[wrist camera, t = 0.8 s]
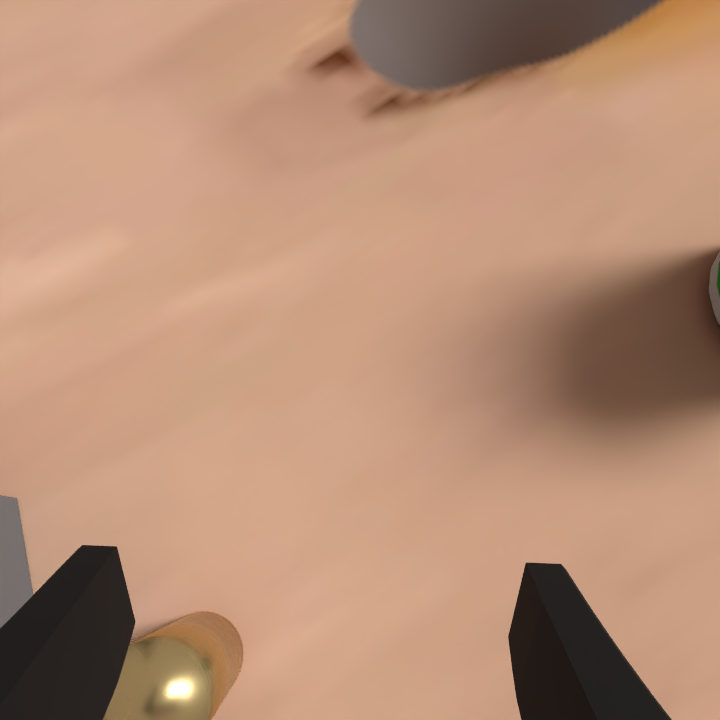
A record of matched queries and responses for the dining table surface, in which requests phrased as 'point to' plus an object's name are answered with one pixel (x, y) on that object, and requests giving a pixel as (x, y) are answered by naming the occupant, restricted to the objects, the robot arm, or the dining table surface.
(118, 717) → the brass pin
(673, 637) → the dining table surface
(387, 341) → the dining table surface
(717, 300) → the soda can
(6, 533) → the block
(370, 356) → the dining table surface
